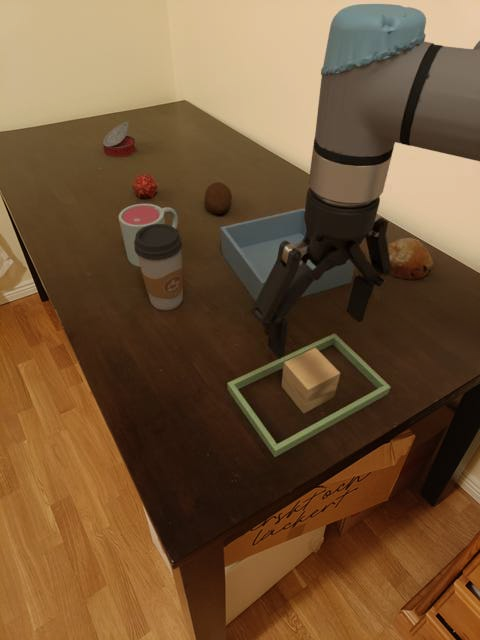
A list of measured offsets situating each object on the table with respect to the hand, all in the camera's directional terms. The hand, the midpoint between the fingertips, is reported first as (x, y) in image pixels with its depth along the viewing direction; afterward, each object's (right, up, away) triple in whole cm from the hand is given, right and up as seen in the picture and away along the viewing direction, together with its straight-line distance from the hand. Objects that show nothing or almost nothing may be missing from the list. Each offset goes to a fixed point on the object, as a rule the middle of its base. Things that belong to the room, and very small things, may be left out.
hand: (316, 333), depth 59 cm
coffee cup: (-25, +5, +25) cm, 36 cm away
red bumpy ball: (-36, +35, +56) cm, 75 cm away
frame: (0, -10, +9) cm, 13 cm away
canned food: (-49, +56, +77) cm, 107 cm away
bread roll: (+25, +13, +33) cm, 43 cm away
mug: (-29, +17, +37) cm, 51 cm away
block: (0, -10, +9) cm, 13 cm away
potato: (-16, +30, +51) cm, 61 cm away
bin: (-1, +13, +33) cm, 35 cm away
